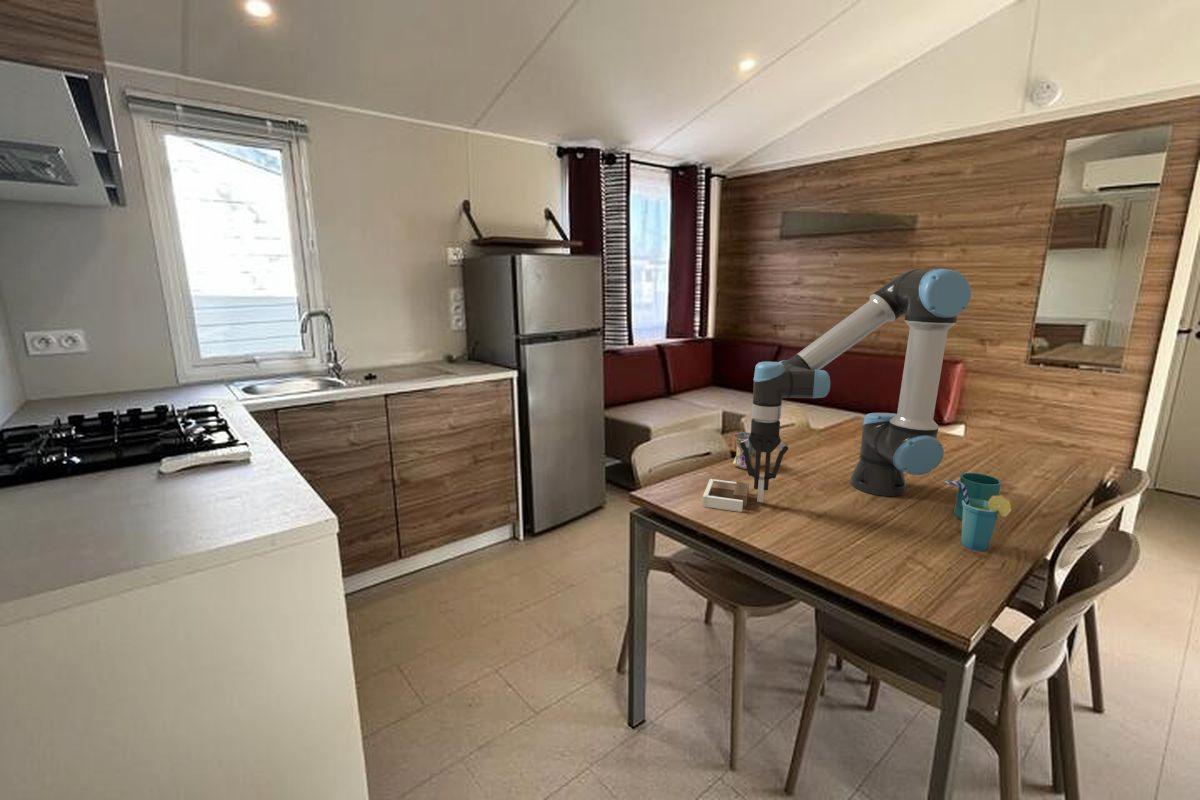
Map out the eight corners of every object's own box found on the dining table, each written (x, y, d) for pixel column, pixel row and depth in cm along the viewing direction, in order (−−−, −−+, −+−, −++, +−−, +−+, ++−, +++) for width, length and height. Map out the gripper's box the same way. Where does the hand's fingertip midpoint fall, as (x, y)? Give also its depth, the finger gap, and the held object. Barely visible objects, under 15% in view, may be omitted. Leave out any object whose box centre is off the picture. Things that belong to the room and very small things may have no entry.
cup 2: (932, 540, 133) (941, 482, 130) (940, 530, 139) (949, 474, 135) (1002, 561, 124) (1014, 499, 120) (1007, 549, 129) (1019, 489, 126)
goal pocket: (746, 492, 161) (746, 483, 161) (741, 512, 148) (742, 501, 147) (709, 488, 165) (710, 478, 164) (702, 506, 152) (702, 496, 151)
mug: (764, 471, 179) (766, 440, 177) (736, 471, 179) (738, 440, 176) (752, 459, 191) (754, 430, 189) (726, 459, 191) (727, 430, 188)
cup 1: (999, 514, 148) (1006, 475, 145) (990, 529, 139) (998, 487, 137) (960, 505, 154) (966, 467, 151) (950, 518, 146) (956, 478, 143)
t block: (748, 496, 159) (749, 483, 158) (745, 509, 150) (746, 496, 149) (713, 491, 162) (714, 478, 161) (708, 504, 153) (709, 491, 152)
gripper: (791, 417, 149) (785, 498, 154) (742, 413, 153) (737, 492, 159) (790, 424, 142) (784, 508, 148) (739, 420, 147) (735, 502, 152)
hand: (760, 499), depth 153 cm, fingers closed
